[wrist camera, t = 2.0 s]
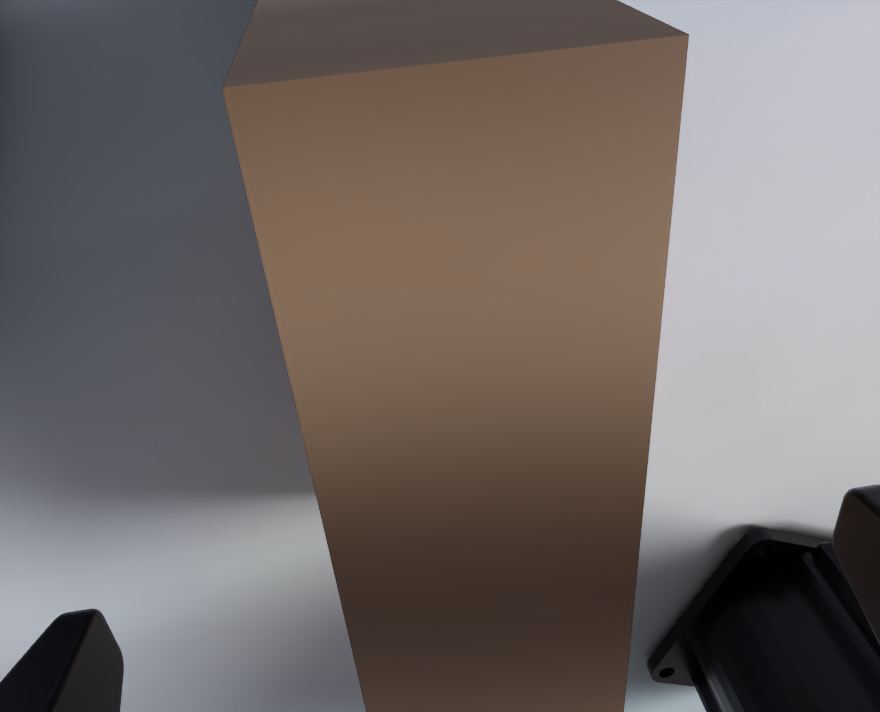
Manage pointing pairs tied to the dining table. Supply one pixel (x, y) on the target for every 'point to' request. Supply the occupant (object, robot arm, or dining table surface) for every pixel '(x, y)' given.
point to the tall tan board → (469, 323)
